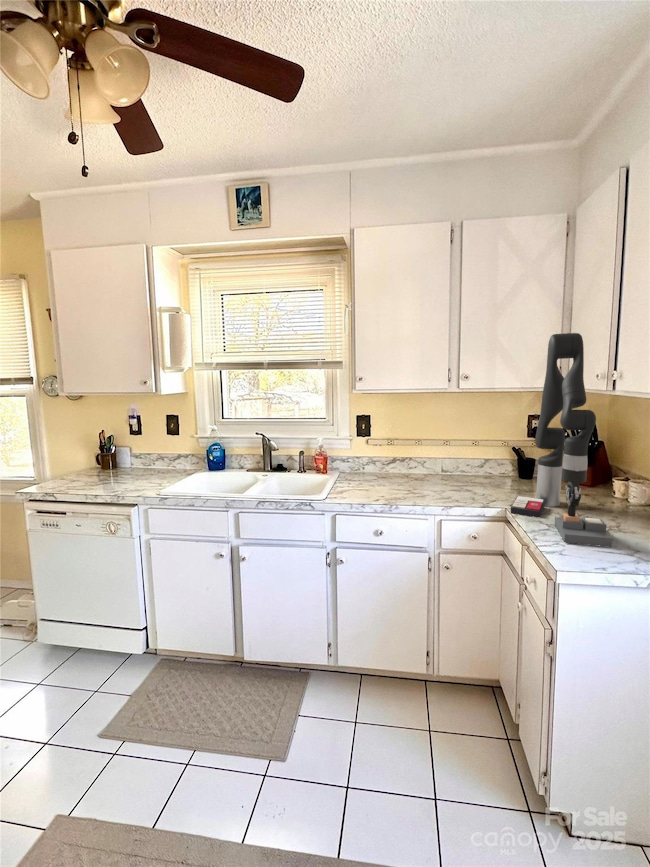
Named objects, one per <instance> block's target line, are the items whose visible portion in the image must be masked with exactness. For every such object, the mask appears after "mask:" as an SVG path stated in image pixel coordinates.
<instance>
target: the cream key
mask: <svg viewBox="0 0 650 867" xmlns="http://www.w3.org/2000/svg"><path fill="white" fill-rule="evenodd" d="M584 518H585V520H586V522H587V523H596V524H603V523H602V522H601V520H600V519H601V518H595V519H593V517H591V518H590V517H584Z"/></svg>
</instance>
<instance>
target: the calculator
mask: <svg viewBox="0 0 650 867" xmlns="http://www.w3.org/2000/svg"><path fill="white" fill-rule="evenodd" d="M545 507H546V506H545V500H543V499H536V497H526V496H520V495H519V496H517V497H516V498H515V499H514V500H513V502H512V504H511V506H510V514H514V515H518V514H519V515H520V516H525V515H526V516H527V517H532V516H534V517H533V518H539V517H540V518H541V517H542V515H541V514H543V511H544V510H545ZM519 515H518V516H519Z"/></svg>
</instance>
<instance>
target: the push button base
mask: <svg viewBox="0 0 650 867" xmlns="http://www.w3.org/2000/svg"><path fill="white" fill-rule="evenodd" d="M585 518H586V517H582V516H581V517H580V522H571V521H564V519H563V515H559V517H556V516H555V517H554V523H553V525H554V527H555V529H556V530H558V531H557V532H558V534H559V535H560V538H561V537H562V538H561V540H562V541H563V543H564V542H568V543H567V544H573V543H579V544H578V545H584V544H590V545H589V546H594V545H600V546H599V547H605V546H609V547H608V548H613V542H614V540H613V537H612V536H611V534H610V533H609V532H608V531H607V525H608V524H606V523H605V521H603V518H599V519H600V520H601V522H602V523H603V524H596V523H587V522H586V520H585ZM592 518H593V517H592ZM593 519H596V518H593Z"/></svg>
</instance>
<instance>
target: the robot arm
mask: <svg viewBox="0 0 650 867" xmlns="http://www.w3.org/2000/svg"><path fill="white" fill-rule="evenodd" d="M582 336H583V335H581V334H580V333H578V332H569V333H554V334H551V336H550V338H549V340H548V344H547V355H546V356H547V358H546V371H545V379H544V384H543V389H542V396H541V404H540V405H541V406H540V412H539V419H538V423H537V427H536V433H535V445H536V446H535V447H536V448H537V449H541V450H552V452H550V453H549V454H545V455H542V456H539V458H538V460H537V476H536V477H537V478H536V494H535V498H536V499H543V500H545V507H548V508H550V507H553V508H554V507H559V506H560V504H561V503H560V501H561V489H562V487H561V486H562V481H564V482H566V483H567V484H566V485H565V487H564V488H565V497H566V498H565V499H566V502H567V503H566V504H567V514H568V515H569V516H575V514H577V513H576V511H577V507H578V506H579V504H580V502H581V498H582V494H580V493H581V492H582V488H581V487H580V484H583V483H586V482H587V476H588V475H587V474H588V453H589V452H588V451H589V450H588V449H589V448H588V447H589V442H590V439H591V435H592V433H593V431H594V428H595V425H596V423H597V417H596V414H595V412H594V411H593V410H591V409H577V408H580V407H583V406H584V405H585V404H587V394H586V389H585V388H586V387H585V381H584V365H585V361H584V359H585V358H584V354H585V352H584V347H585V346H584V341H583V340H584V339H583V337H582ZM562 359H563V360H564V359H572V365H571V367H570V369H569V371H567V373H566V375H565V376H564V375H562V373H561V371H560V369H559V366H558V360H562ZM559 413H561V414H560V418H559V419H560V420H559V424H560V426H561V427H549V426H550V423H551V422H552V421H553V419H554V418H555V417H557V416H558V415H559ZM565 431H580V432H579V433H578V434H577V435H573V436H568V437H566V434H565Z"/></svg>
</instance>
